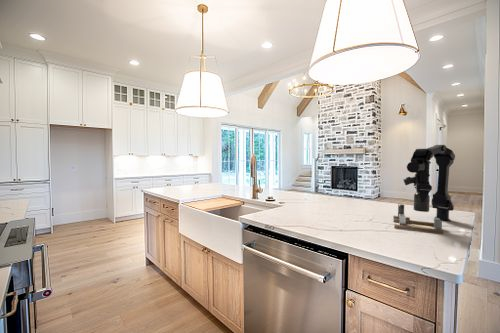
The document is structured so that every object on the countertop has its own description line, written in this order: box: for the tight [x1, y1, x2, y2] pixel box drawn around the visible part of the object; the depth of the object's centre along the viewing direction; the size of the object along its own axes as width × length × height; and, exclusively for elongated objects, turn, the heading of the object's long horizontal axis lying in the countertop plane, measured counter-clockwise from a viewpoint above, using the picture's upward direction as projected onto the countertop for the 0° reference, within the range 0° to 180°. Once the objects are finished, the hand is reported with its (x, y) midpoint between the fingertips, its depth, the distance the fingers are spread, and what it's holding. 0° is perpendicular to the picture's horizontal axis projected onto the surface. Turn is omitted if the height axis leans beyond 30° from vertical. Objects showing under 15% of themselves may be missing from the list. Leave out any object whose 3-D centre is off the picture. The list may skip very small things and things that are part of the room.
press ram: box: [397, 204, 407, 226], centre depth 133 cm, size 18×3×8 cm, turn 150°
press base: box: [392, 215, 444, 235], centre depth 128 cm, size 22×20×5 cm
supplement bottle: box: [413, 189, 431, 213], centre depth 126 cm, size 7×7×12 cm
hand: (421, 201), depth 126 cm, fingers closed on supplement bottle, 7 cm apart
